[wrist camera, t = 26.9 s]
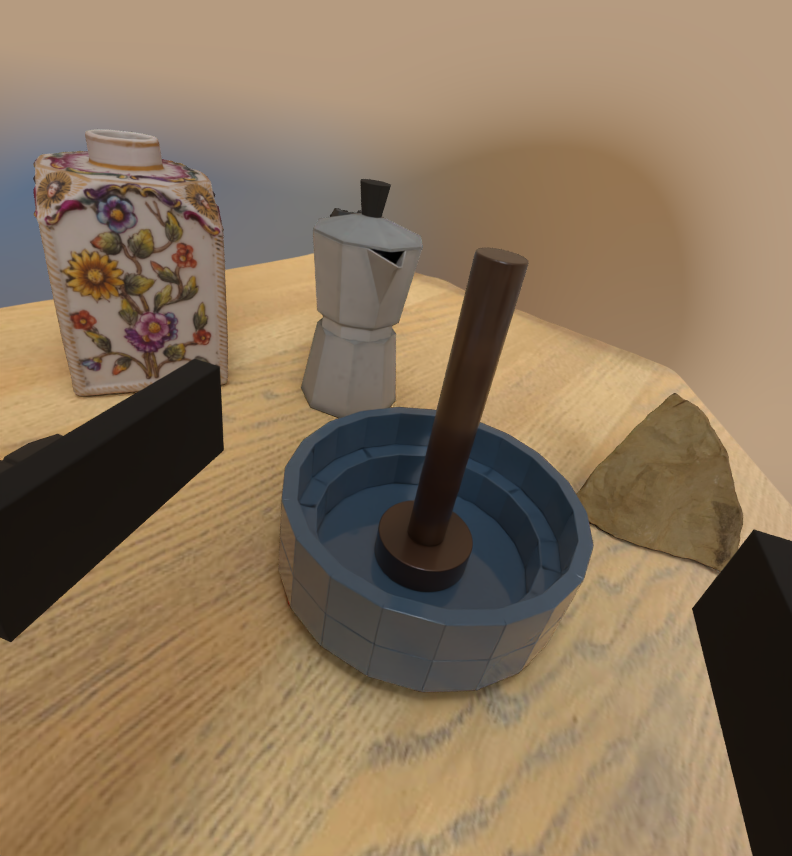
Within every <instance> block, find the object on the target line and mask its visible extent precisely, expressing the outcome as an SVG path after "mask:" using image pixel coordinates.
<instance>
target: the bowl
mask: <svg viewBox="0 0 792 856" xmlns="http://www.w3.org/2000/svg"><path fill="white" fill-rule="evenodd" d="M436 411H437V410H432V409H420V408H407V407H392V408H383V409H373V410H363V411H359V412H356V413H353V414H350V415H347V416H344V417H341V418H338V419H335V420H332V421H330V422H328V423H326V424H325V425H324V426H322V427H321V428H319V429H318V430H316V431H315V432H314V433H312V434H311V435H309V436H308V437H306V438H305V439H304V440H303V441H302V442H301V444H300V445H299V447H298V448H297V450H296V451H295V453H294V454H293V456H292V457H291V459H290V461H289V462H288V464H287V465H286V467H285V472H284V482H283V491H282V500H281V523H280V546H279V572H280V575H281V578H282V582H283V585H284V588H285V591H286V594H287V598H288V601H289V604H290V607H291V609H292V610H293V612H294V613H295V614H296V615H297V617H298V618H299V619H300V620H301V622H302V623H303V624H304V626H305V627H306V628H307V629H308V631H309V632H310V633H311V634H312V636H313V637H314V638H315V639H316V641H317V642H318V643H319V645H320V646H322V647H323V648H325V649H326V650H328V651H329V652H331V653H332V654H334V655H335V656H337V657H338V658H340V659H341V660H343V661H344V662H346V663H347V664H349V665H350V666H352V667H353V668H355V669H356V670H358V671H360V672H361V673H363V674H364V675H367V676H368V677H371V678H374V679H378V680H381V681H385V682H388V683H392V684H395V685H399V686H402V687H405V688H409V689H412V690H416V691H419V692H421V691H422V692H445V691H474V690H478V689H481V688H483V687H486V686H488V685H491V684H493V683H496V682H498V681H501V680H503V679H505V678H508V677H510V676H513V675H515V674H518V673H519V672H520V671H522V670H523V669H524V668H525V667H526V665H527V664H528V663H529V662H530V661H531V660H532V659H533V658H534V657H535V656H536V655H537V654H538V653H539V652H540V651H541V650H542V649H543V648H544V647H545V646H546V645H547V644H548V642H549V640H550V639H551V637H552V635H553V633H554V632H555V630H556V628H557V626H558V624H559V623H560V621H561V619H562V617H563V616H564V614H565V612H566V610H567V609H568V607H569V605H570V603H571V602H572V600H573V598H574V596H575V594H576V593H577V591H578V589H579V587H580V586H581V584H582V582H583V580H584V578H585V574H586V571H587V567H588V564H589V561H590V557H591V554H592V550H593V540H592V535H591V530H590V525H589V520H588V514H587V511H586V510H585V508H584V506H583V505H582V503H581V501H580V500H579V498H578V496H577V495H576V493H575V491H574V490H573V488H572V486H571V485H570V483H569V482H568V481H567V480H566V479H565V478H564V477H563V476H562V475H561V474H560V473H559V472H558V471H557V470H556V469H555V468H554V467H553V466H552V465H551V464H550V463H549V462H548V461H547V460H546V459H545V458H544V457H543V456H541V455H540V454H539V453H538V452H536V451H534V450H533V449H531V448H530V447H528V446H527V445H525V444H523V443H522V442H520V441H519V440H517V439H516V438H514V437H512V436H511V435H509V434H507V433H505V432H502V431H500V430H498V429H495V428H493V427H491V426H488V425H486V424H483V423H481V422H480V424H479V427H478V430H477V433H476V437H475V440H474V443H473V446H472V450H471V453H470V456H469V459H468V463H467V466H466V469H465V473H464V476H463V479H462V482H461V486H460V489H459V492H458V495H457V499H456V502H455V505H454V508H453V512H454V513H456V514H457V515H458V516H459V517H460V518H461V519H462V520H463V521H464V522H465V523H466V525H467V526H468V528H469V530H470V532H471V535H472V539H473V547H472V551H471V554H470V557H469V560H468V563H467V566H466V568H465V571H464V574H463V575H462V577H461V578H460V580H459V581H458V582H456V583H455V584H454V585H452V586H451V587H449V588H447V589H444V590H441V591H435V592H421V591H416V590H412V589H409V588H406V587H404V586H401V585H400V584H398V583H396V582H395V581H393V580H392V579H391V578H389V577H388V576H387V575H386V574H385V573H384V571H383V570H382V569H381V567H380V566H379V564H378V562H377V559H376V556H375V542H376V537H377V532H378V527H379V522H380V519H381V517H382V516H383V514H384V513H385V512H386V511H387V510H388V509H389V508H390V507H392V506H394V505H396V504H398V503H401V502H404V501H410V500H415V497H416V492H417V488H418V484H419V480H420V476H421V472H422V468H423V464H424V460H425V456H426V452H427V447H428V443H429V439H430V435H431V431H432V427H433V423H434V419H435V415H436Z"/></svg>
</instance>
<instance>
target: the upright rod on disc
mask: <svg viewBox="0 0 792 856" xmlns="http://www.w3.org/2000/svg"><path fill="white" fill-rule="evenodd" d="M527 266H528V260H527V259H526V258H524V257H523V256H521V255H519V254H516V253H513V252H509V251H505V250H502V249H496V248H479V249H477V250H476V252H475V255H474V259H473V263H472V267H471V271H470V276H469V279H468V284H467V288H466V292H465V296H464V300H463V304H462V308H461V312H460V316H459V320H458V325H457V329H456V333H455V337H454V341H453V345H452V349H451V353H450V357H449V361H448V365H447V370H446V374H445V378H444V382H443V386H442V390H441V394H440V398H439V402H438V406H437V411H436V415H435V419H434V423H433V427H432V431H431V435H430V439H429V443H428V447H427V452H426V456H425V460H424V464H423V468H422V472H421V476H420V480H419V484H418V488H417V492H416V497H415V500H410V501H404V502H401V503H398V504H396V505H394V506H392V507H390V508H389V509H388V510H387V511H386V512H385V513H384V514H383V516H382V517H381V519H380V522H379V527H378V532H377V537H376V542H375V556H376V559H377V562H378V564H379V566H380V567H381V569H382V570H383V571H384V573H385V574H386V575H387V576H388V577H389V578H391V579H392V580H393V581H395V582H396V583H398V584H400V585H401V586H404V587H406V588H409V589H412V590H416V591H421V592H435V591H441V590H444V589H447V588H449V587H451V586H452V585H454V584H455V583H456V582H458V581H459V580H460V578H461V577H462V575H463V574H464V571H465V568H466V566H467V563H468V560H469V557H470V554H471V551H472V547H473V539H472V535H471V532H470V530H469V528H468V526H467V525H466V523H465V522H464V521H463V520H462V519H461V518H460V517H459V516H458V515H457V514H456V513H454V512H453V508H454V505H455V502H456V499H457V495H458V492H459V489H460V486H461V482H462V479H463V476H464V473H465V469H466V466H467V463H468V459H469V456H470V453H471V450H472V446H473V443H474V440H475V437H476V433H477V430H478V427H479V424H480V420H481V417H482V414H483V411H484V407H485V404H486V401H487V397H488V394H489V391H490V388H491V384H492V381H493V378H494V375H495V371H496V368H497V365H498V362H499V358H500V355H501V352H502V349H503V345H504V342H505V339H506V335H507V332H508V329H509V326H510V322H511V319H512V316H513V313H514V309H515V306H516V303H517V299H518V296H519V293H520V290H521V287H522V283H523V280H524V277H525V273H526V270H527Z"/></svg>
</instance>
